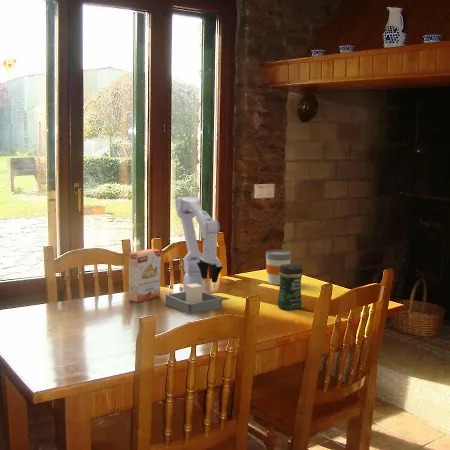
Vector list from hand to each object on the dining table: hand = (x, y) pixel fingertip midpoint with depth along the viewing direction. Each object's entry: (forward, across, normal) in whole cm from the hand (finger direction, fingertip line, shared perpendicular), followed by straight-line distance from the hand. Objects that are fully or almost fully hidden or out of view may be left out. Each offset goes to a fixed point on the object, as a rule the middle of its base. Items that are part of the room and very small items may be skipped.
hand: (209, 280), depth 255 cm
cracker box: (+10, +19, +21) cm, 30 cm away
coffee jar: (+9, -25, -23) cm, 36 cm away
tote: (+9, -2, +9) cm, 13 cm away
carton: (+8, -2, +9) cm, 13 cm away
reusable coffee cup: (+10, +10, -48) cm, 50 cm away
